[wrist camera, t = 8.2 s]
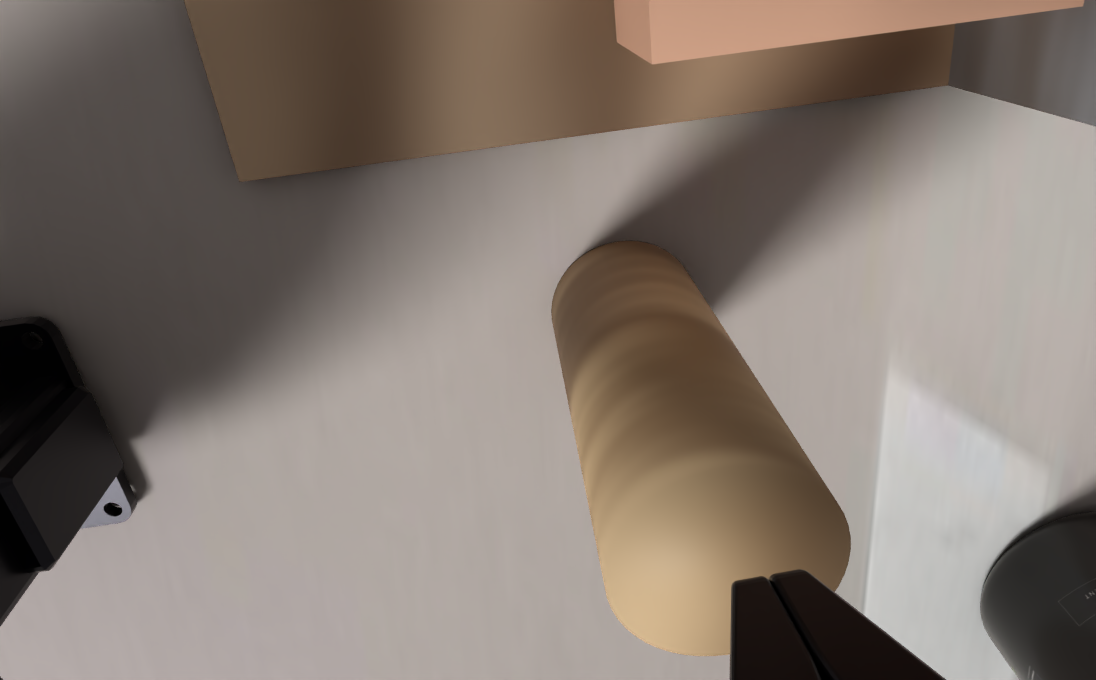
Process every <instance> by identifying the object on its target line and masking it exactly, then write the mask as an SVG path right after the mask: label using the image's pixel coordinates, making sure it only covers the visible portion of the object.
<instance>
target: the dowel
mask: <svg viewBox="0 0 1096 680" xmlns="http://www.w3.org/2000/svg"><path fill="white" fill-rule="evenodd" d="M551 313H552V323H553V328H554V333H555V338H556V343H557V348H558V353H559V358H560V363H561V368H562V373H563V378H564V383H565V388H566V393H567V399H568V404H569V409H570V414H571V419H572V424H573V429H574V434H575V439H576V444H577V449H578V454H579V459H580V464H581V469H582V474H583V479H584V484H585V489H586V494H587V500H588V505H589V510H590V515H591V520H592V525H593V530H594V535H595V540H596V545H597V550H598V555H599V560H600V565H601V570H602V575H603V580H604V585H605V590H606V595H607V599H608V601H609V604H610V606H611V609H612V610H613V612H614V614H615V615H616V617H617V619H618V620H619V621H620V622H621V623H622V624H623V626H624V627H625V628H626V629H627V630H629V631H630V632H631V633H632V634H633V635H635V636H636V637H638V638H639V639H641V640H643V641H644V642H646V643H648V644H650V645H652V646H655V647H657V648H659V649H663V650H666V651H669V652H673V653H678V654H683V655H693V656H718V655H728V654H730V624H731V585H732V583H733V582H734V581H737V580H742V579H748V578H753V577H759V576H764V577H766V578H767V579H769V577H770V576H771V575H772V574H775V573H781V572H786V571H792V570H797V569H802V570H805V571H808V572H809V573H811V574H812V575H813V576H814V577H816V578H817V579H818V580H819V581H821V582H822V583H823V584H825V585H826V586H827V587H828V588H830V589H831V590H832V591H834V592H835V591H836V589H837V588H838V586H839V584H840V582H841V580H842V578H843V576H844V574H845V571H846V568H847V565H848V562H849V556H850V550H851V537H850V532H849V526H848V523H847V520H846V518H845V515H844V513H843V511H842V510H841V508H840V506H839V505H838V503H837V501H836V500H835V498H834V497H833V495H832V494H831V492H830V491H829V489H828V488H827V486H826V485H825V483H824V481H823V480H822V478H821V477H820V475H819V474H818V472H817V471H816V469H815V468H814V466H813V465H812V463H811V462H810V460H809V458H808V457H807V455H806V454H805V452H804V451H803V449H802V448H801V446H800V445H799V443H798V442H797V440H796V438H795V437H794V435H793V434H792V432H791V431H790V429H789V428H788V426H787V425H786V423H785V422H784V420H783V419H782V417H781V415H780V414H779V412H778V411H777V409H776V408H775V406H774V405H773V403H772V402H771V400H770V399H769V397H768V395H767V394H766V392H765V391H764V389H763V388H762V386H761V385H760V383H759V382H758V380H757V379H756V377H755V376H754V374H753V372H752V371H751V369H750V368H749V366H748V365H747V363H746V362H745V360H744V359H743V357H742V356H741V354H740V353H739V351H738V349H737V348H736V346H735V345H734V343H733V342H732V340H731V339H730V337H729V336H728V334H727V333H726V331H725V329H724V328H723V326H722V325H721V323H720V322H719V320H718V319H717V317H716V316H715V314H714V313H713V311H712V310H711V308H710V306H709V305H708V303H707V302H706V300H705V299H704V297H703V296H702V294H701V293H700V291H699V290H698V288H697V286H696V285H695V283H694V282H693V280H692V279H691V277H690V276H689V274H688V273H687V271H686V270H685V268H684V267H683V265H682V264H681V263H680V262H679V261H678V260H677V259H676V258H675V257H674V256H673V255H672V254H670V253H668V252H667V251H665V250H664V249H662V248H660V247H658V246H655V245H652V244H649V243H645V242H639V241H618V242H613V243H608V244H605V245H602V246H599V247H597V248H595V249H593V250H591V251H589V252H587V253H586V254H584V255H583V256H581V257H580V258H579V259H578V260H576V261H575V262H574V263H573V264H572V265H571V266H570V267H569V268H568V269H567V271H566V272H565V273H564V275H563V276H562V278H561V280H560V281H559V283H558V285H557V288H556V290H555V293H554V297H553V301H552V310H551Z"/></svg>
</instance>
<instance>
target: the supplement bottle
mask: <svg viewBox="0 0 1096 680" xmlns="http://www.w3.org/2000/svg"><path fill="white" fill-rule="evenodd" d="M980 611H981V618H982V622H983V625H984V628H985V630H986V632H987V633H988V635H989V637H990V638H991V640H992V641H993V643H994V644H995V646H996V647H997V649H998V650H999V651H1000V653H1001V654H1002V656H1003V657H1004V659H1005V660H1006V662H1007V663H1008V664H1009V666H1010V667H1011V669H1012V670H1013V671H1014V673H1015V674H1016V675H1017V677H1018V678H1019V680H1096V511H1095V512H1086V513H1080V514H1075V515H1071V516H1067V517H1064V518H1061V519H1058V520H1055V521H1053V522H1050V523H1048V524H1046V525H1044V526H1042V527H1040V528H1038V529H1036V530H1034V531H1033V532H1031V533H1029V534H1028V535H1026V536H1025V537H1023V538H1022V539H1021V540H1019V541H1018V542H1017V543H1015V544H1014V545H1013V546H1012V547H1011V548H1010V549H1009V550H1008V551H1006V552H1005V553H1004V554H1003V556H1002V557H1001V558H1000V559H999V560H998V561H997V563H996V564H995V565H994V567H993V568H992V570H991V572H990V573H989V575H988V577H987V579H986V581H985V584H984V587H983V590H982V594H981V602H980Z"/></svg>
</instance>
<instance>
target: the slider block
mask: <svg viewBox="0 0 1096 680" xmlns="http://www.w3.org/2000/svg"><path fill="white" fill-rule="evenodd" d="M1083 4H1084V0H614V10H615V24H616V38H617V43H619V44H620V45H622V46H624V47H625V48H627V49H628V50H630V51H631V52H633V53H635V54H636V55H638V56H639V57H641V58H642V59H644V60H646V61H647V62H649V63H650V64H660V63H667V62H675V61H682V60H689V59H697V58H704V57H712V56H719V55H726V54H734V53H741V52H749V51H756V50H763V49H771V48H778V47H786V46H793V45H800V44H808V43H815V42H823V41H830V40H837V39H845V38H852V37H860V36H867V35H874V34H882V33H889V32H897V31H904V30H911V29H919V28H926V27H934V26H941V25H948V24H956V23H963V22H971V21H978V20H985V19H993V18H1000V17H1008V16H1015V15H1022V14H1030V13H1037V12H1045V11H1052V10H1059V9H1067V8H1074V7H1082V6H1083Z"/></svg>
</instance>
